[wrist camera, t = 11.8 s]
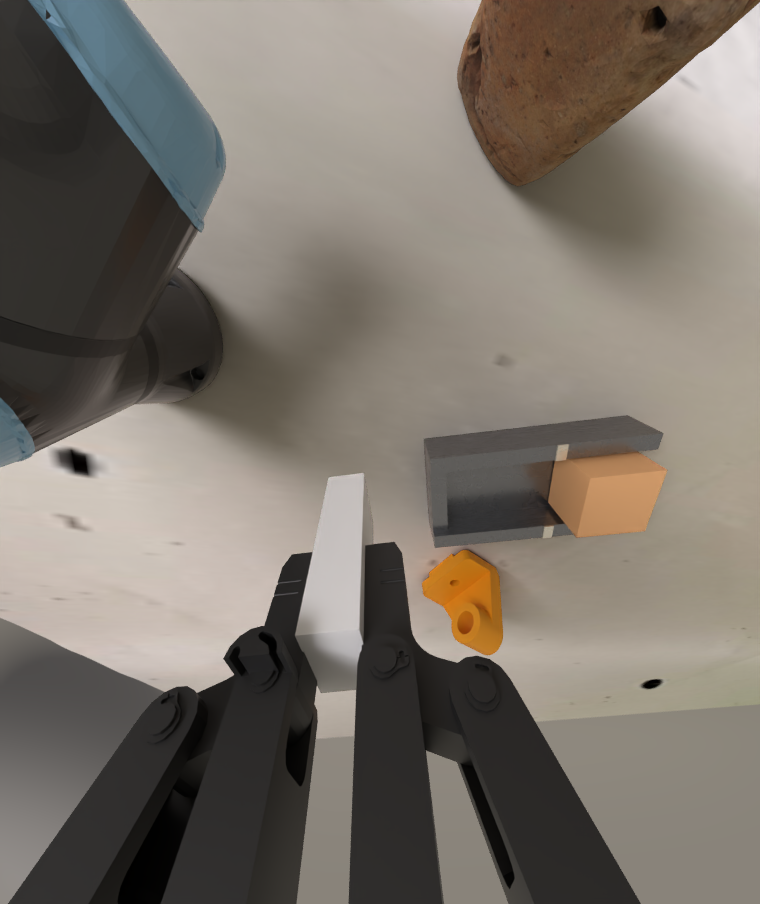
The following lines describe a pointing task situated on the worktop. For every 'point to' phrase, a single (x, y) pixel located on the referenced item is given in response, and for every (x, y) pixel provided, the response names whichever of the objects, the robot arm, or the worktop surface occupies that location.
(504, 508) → the chute
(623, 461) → the slider block
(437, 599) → the bracket
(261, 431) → the worktop surface
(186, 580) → the worktop surface
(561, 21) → the block
